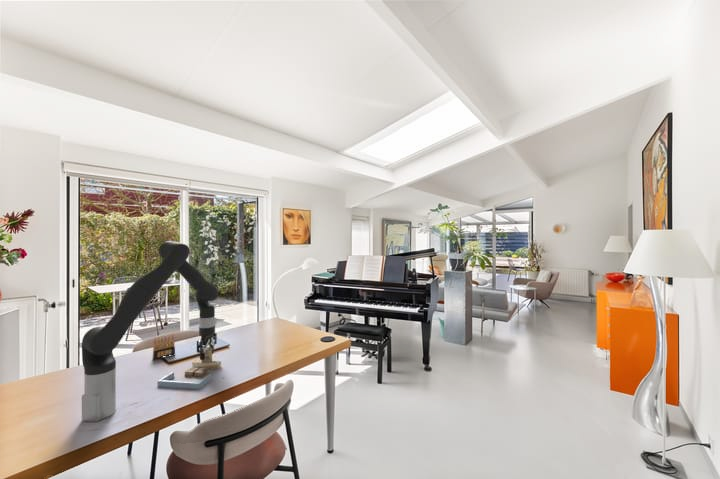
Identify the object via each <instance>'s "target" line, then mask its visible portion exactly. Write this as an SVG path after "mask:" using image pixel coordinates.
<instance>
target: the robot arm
mask: <svg viewBox="0 0 720 479" xmlns="http://www.w3.org/2000/svg"><path fill="white" fill-rule="evenodd" d="M190 252H191V251H190V247H189V245H187V244H185V243H181V242H178V241H173V240H167V241H164V242H162V243H161V244H160V245H159V248H158V254H159V257H160V258H161V259H162V260H163V261H162V262H161V263H160V264H159V265H158V266H157V267H156V268H154V269H152V270H151V271H149V272H147V273H145V274H144V275H142V276H141V277H140V278H138V279H137V280H136V281H134V283H133V284H132V285H131V286H130V287H129V288H128V289H127V291H125V293H124V295H123V296H122V298H121V300H120V303H119V305H118V307H117V310H116V312H115V313H114V315H113V316H112V317H111V318H110V320H109V321H108V322H107V323H106V324H105V325H104V326H95V327H91V329H89V330H87V331H86V332H85V333H84V336H83V337H82V341H81V359H82V360H81V362H82V366H83V369H84V370H83V372H84V375H83V376H84V383H83V385H84V386H83V387H84V393H83V394H82V395H81V421H83V422H93V423H97V422H99V421H101V420H104V419H107V418H108V417H110V416H112V415H114V414H115V413H116V408H117V403H116V401H117V400H116V398H117V397H116V396H117V388H116V387H117V384H116V382H117V379H116V378H117V377H116V376H117V375H116V374H117V370H116V369H117V368H116V366H117V361H116V359H115V357H114V353H113V350H115V349H116V347H117V346H118V345H119V343H120V342H121V341H122V339H123V338H124V336H125V334H126V333H127V332H128V330H129V329H130V327H131V325H132V324H133V323H134V322H135V321H136V319H137V318H138V317H139V316H140V314H142V312H143V311H144V310H145V308H146V307H147V306H148V305H149V303H150V302H151V301H153V299H154V297H155V296H156V295H157V294H158V293H159V291H160V290H161V289H162V287H163V286H164V284H166V283H167V281H168V280H169V279H170V277H171V276H172V275H173V274H174V273H175V272H176V271H177V272H178V273H179V274H180V275H181V276H182V277H183V279H185V281H186V282H187V283H188V285H190V287H191V289H193V290H194V291H196V293H195V298H196V302H197V306H198V309H199V320H198V335H199V336H200V337H201V338H200V340H197V341H196V353H198V354H199V360H204V359H205V349H206V348H207V347H209V348H212V355H213V354H214V352H215V349H214V348H215V345H217V339H218V336H217V335H218V333H216V317H215V316H216V315H215V313H216V311H215V306H214V305H213V304H211V303H210V302H212V301H213V302H214V301H216V300H217V299H218V297H219V290H218V288H217V287H216V286H215V285H213V284H212V283H211V282H209V281H208V280H206V278H205V277H204V275H203V274H202V273H201V272H200V271H199V270H198V269H197V268H196V267H194V266H193V265H192V264H191V263H189V261H188V260H187V259H189V256H190ZM203 348H204V349H203Z"/></svg>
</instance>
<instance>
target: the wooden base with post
mask: <svg viewBox="0 0 720 479" xmlns="http://www.w3.org/2000/svg"><path fill="white" fill-rule="evenodd" d="M209 347H210V346H207V348H206V349H205V359H204V360H200V359H196V360H194V361H192V366H191V368H192V367H193V368H199V369H200V368H207V369H209V370H212V369H213V370H219V369H220V368H222V361H221V360H220V361H219V360H217V361H216V360H213V354H212V348H209ZM203 349H204V348H203Z"/></svg>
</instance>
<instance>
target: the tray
mask: <svg viewBox="0 0 720 479" xmlns="http://www.w3.org/2000/svg"><path fill="white" fill-rule="evenodd" d="M174 378H175V371H171V372H170V373H168V374H166V375H165V376H163V377H162V378H160V379H159V380H157V387H159V388H175V389H189V390H190V389H192V390H200V389H201V388H203V386H205V385H206V384H208V383H209V382H211V380H212V374H211V373H208V374H207V375H205V376H204V378H202V379H201V380H199V382H195V381H180V380H172V379H174Z"/></svg>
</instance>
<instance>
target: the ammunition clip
mask: <svg viewBox="0 0 720 479" xmlns="http://www.w3.org/2000/svg"><path fill="white" fill-rule="evenodd" d="M152 348H153V349H152V360H153V361H159V360H161V359H163V358H162V357H163V356H169V355H174V354H175V355H176V350H175V349H176V347H175V335H174V334H172V335H168V337H167V335H165V336H161V339H160V337H159V336H158V338H157V339H156V337H154V339H153V346H152ZM175 355H174V356H175Z"/></svg>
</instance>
